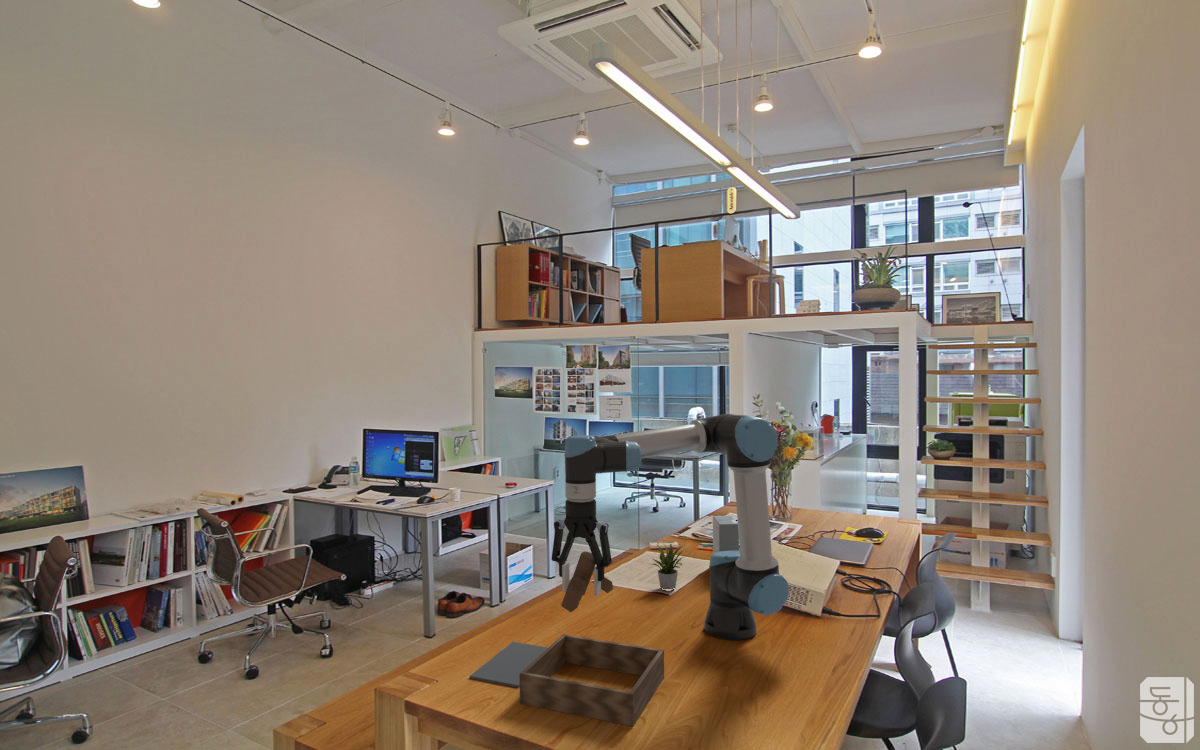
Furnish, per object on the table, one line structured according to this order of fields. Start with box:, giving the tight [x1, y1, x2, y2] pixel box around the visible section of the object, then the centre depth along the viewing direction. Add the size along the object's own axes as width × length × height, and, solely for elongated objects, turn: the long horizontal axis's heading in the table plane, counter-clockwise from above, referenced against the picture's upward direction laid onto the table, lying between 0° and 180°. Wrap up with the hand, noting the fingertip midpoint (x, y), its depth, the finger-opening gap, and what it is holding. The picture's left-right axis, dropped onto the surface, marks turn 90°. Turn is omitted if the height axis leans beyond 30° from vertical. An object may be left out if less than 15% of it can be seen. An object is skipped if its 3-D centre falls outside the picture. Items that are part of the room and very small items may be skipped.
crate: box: [519, 633, 665, 727], centre depth 158 cm, size 28×24×7 cm
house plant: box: [648, 542, 687, 589], centre depth 230 cm, size 14×14×16 cm
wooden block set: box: [561, 551, 614, 613], centre depth 158 cm, size 18×9×10 cm, turn 152°
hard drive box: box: [712, 515, 740, 554], centre depth 249 cm, size 16×8×20 cm, turn 179°
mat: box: [469, 641, 549, 689], centre depth 173 cm, size 14×22×1 cm, turn 158°
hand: (581, 591), depth 160 cm, fingers closed on wooden block set, 8 cm apart
